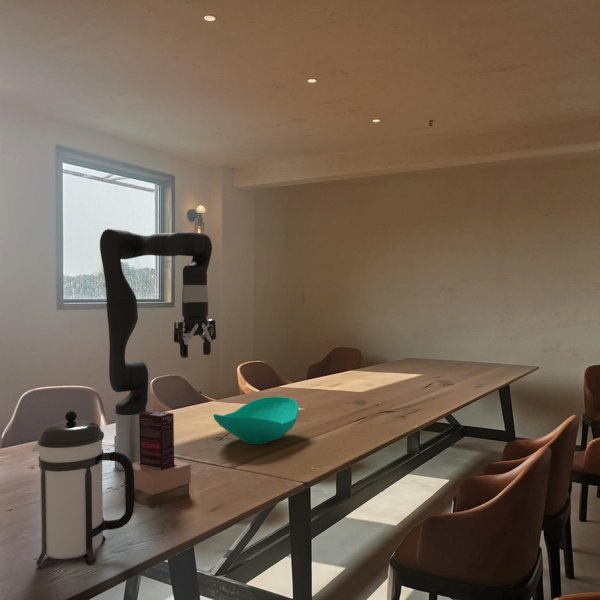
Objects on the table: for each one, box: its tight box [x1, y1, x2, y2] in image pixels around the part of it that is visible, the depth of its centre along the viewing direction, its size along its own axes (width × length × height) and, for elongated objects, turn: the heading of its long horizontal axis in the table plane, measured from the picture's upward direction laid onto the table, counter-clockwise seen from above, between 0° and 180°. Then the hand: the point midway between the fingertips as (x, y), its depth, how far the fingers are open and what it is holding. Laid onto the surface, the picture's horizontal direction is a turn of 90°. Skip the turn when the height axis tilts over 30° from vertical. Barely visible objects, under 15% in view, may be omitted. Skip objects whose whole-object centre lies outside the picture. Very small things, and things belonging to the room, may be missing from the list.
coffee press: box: [31, 410, 136, 569], centre depth 118 cm, size 17×16×30 cm
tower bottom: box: [134, 483, 190, 509], centre depth 151 cm, size 12×12×4 cm
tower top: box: [123, 458, 192, 495], centre depth 151 cm, size 13×12×5 cm
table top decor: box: [212, 396, 300, 445], centre depth 206 cm, size 40×28×13 cm
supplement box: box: [139, 410, 175, 471], centre depth 151 cm, size 9×5×16 cm, turn 59°
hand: (195, 356), depth 164 cm, fingers open, 8 cm apart
